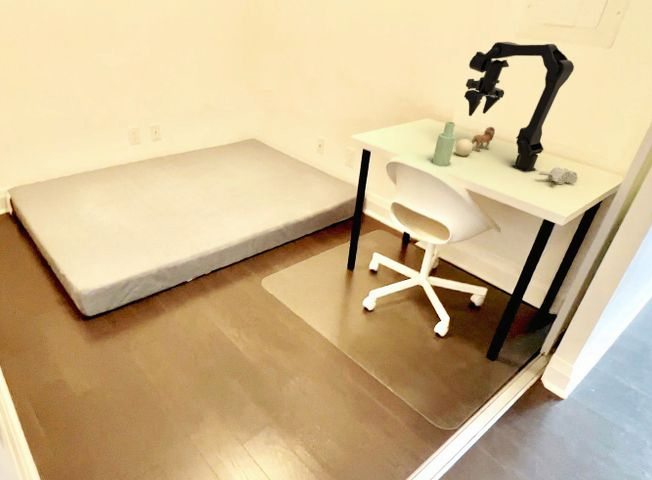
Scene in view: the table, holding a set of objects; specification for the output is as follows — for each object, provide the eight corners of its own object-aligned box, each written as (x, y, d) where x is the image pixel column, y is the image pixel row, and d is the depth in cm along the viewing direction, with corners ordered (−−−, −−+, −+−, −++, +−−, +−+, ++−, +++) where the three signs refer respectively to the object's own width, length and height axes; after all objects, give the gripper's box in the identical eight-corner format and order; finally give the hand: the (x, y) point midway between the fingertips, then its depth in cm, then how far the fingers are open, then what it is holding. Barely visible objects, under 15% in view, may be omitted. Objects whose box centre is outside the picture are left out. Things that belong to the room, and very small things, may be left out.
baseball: (474, 156, 184) (479, 141, 180) (462, 158, 181) (466, 143, 177) (462, 151, 189) (466, 136, 185) (450, 153, 186) (454, 138, 182)
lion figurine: (482, 144, 198) (487, 124, 193) (492, 147, 195) (499, 127, 189) (464, 150, 190) (470, 129, 185) (475, 153, 187) (481, 133, 182)
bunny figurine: (586, 173, 160) (561, 174, 154) (579, 186, 163) (555, 187, 157) (563, 164, 167) (539, 165, 161) (557, 177, 170) (533, 178, 164)
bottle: (452, 164, 175) (463, 124, 166) (439, 166, 173) (449, 126, 163) (441, 159, 180) (451, 120, 171) (428, 160, 177) (438, 121, 168)
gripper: (489, 68, 184) (475, 105, 194) (460, 71, 175) (448, 110, 185) (511, 76, 177) (496, 114, 187) (483, 80, 168) (468, 119, 179)
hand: (476, 114), depth 185 cm, fingers open, 9 cm apart
